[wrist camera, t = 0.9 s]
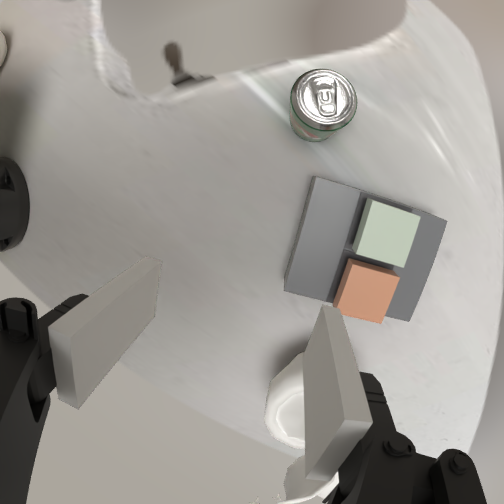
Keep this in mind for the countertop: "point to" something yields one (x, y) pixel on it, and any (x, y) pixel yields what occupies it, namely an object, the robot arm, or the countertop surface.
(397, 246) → the sage key
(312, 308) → the countertop surface
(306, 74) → the soda can
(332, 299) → the button panel
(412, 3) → the countertop surface
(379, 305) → the rust key
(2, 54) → the lidded jar
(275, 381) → the white floating cup sculpture
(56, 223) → the countertop surface
